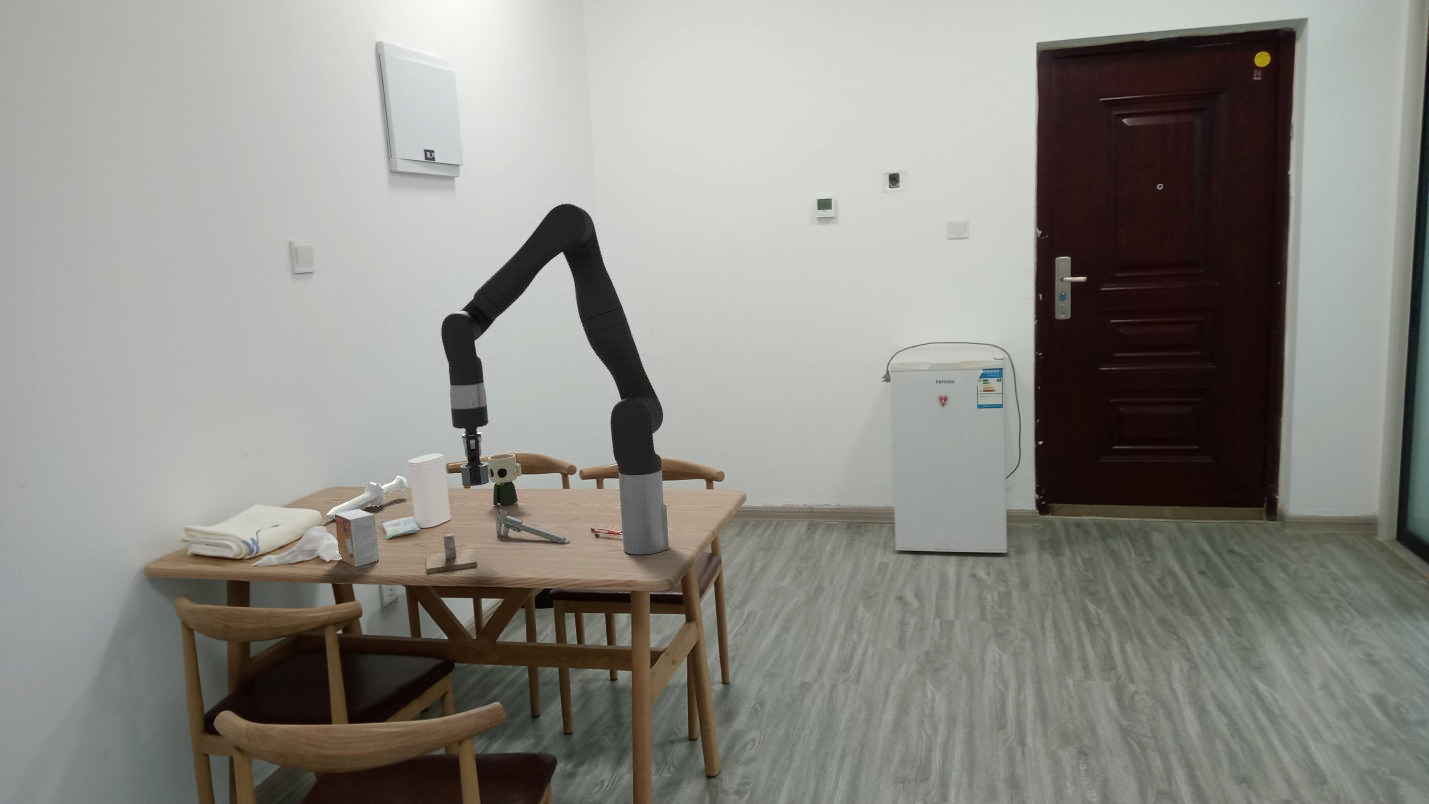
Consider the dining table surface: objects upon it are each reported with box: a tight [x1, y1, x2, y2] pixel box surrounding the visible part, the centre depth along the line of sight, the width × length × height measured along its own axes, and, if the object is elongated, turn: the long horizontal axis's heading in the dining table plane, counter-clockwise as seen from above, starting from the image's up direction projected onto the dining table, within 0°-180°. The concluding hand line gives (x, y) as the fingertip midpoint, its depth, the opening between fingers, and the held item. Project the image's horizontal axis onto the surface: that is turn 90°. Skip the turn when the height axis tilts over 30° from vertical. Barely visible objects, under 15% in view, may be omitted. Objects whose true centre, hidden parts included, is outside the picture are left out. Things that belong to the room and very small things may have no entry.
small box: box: [334, 509, 380, 568], centre depth 203 cm, size 8×6×10 cm
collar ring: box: [460, 461, 490, 487], centre depth 204 cm, size 6×6×4 cm
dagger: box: [325, 475, 409, 520], centre depth 247 cm, size 8×6×28 cm
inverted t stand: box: [425, 533, 478, 574], centre depth 198 cm, size 10×10×6 cm
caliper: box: [495, 509, 571, 545], centre depth 213 cm, size 20×1×6 cm, turn 62°
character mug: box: [487, 453, 523, 507], centre depth 243 cm, size 11×7×13 cm, turn 70°
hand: (475, 480), depth 204 cm, fingers closed on collar ring, 5 cm apart
